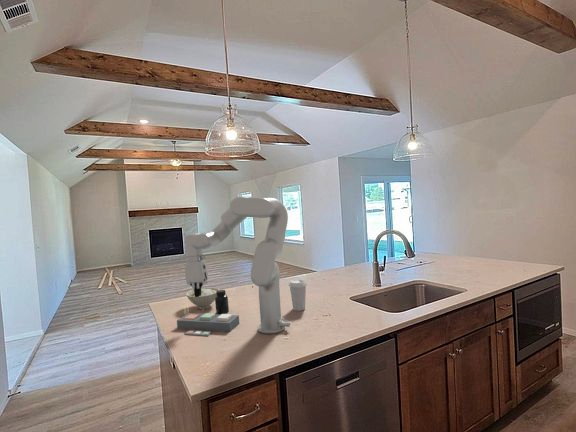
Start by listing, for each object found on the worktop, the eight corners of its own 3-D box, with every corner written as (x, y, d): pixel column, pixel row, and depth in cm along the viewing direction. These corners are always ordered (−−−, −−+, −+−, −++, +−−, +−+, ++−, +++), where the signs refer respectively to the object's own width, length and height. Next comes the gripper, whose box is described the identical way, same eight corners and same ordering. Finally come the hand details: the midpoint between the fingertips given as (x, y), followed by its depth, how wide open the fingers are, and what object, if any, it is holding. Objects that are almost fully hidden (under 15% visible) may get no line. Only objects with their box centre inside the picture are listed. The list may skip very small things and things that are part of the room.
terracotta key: (199, 320, 159) (199, 314, 159) (193, 324, 154) (193, 318, 154) (190, 320, 161) (190, 314, 160) (184, 324, 156) (184, 318, 155)
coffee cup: (306, 311, 166) (305, 283, 166) (288, 311, 168) (287, 283, 168) (309, 305, 176) (307, 278, 175) (292, 305, 178) (290, 279, 177)
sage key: (215, 319, 157) (215, 313, 156) (210, 323, 152) (209, 317, 151) (206, 319, 158) (205, 313, 158) (200, 323, 153) (200, 316, 153)
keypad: (239, 323, 156) (238, 315, 156) (230, 331, 146) (229, 323, 146) (189, 320, 164) (188, 313, 163) (177, 328, 154) (176, 320, 154)
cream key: (232, 320, 154) (231, 314, 154) (227, 324, 149) (226, 318, 149) (222, 319, 155) (222, 313, 155) (217, 324, 150) (216, 317, 150)
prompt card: (212, 332, 146) (212, 331, 146) (207, 336, 143) (207, 334, 143) (189, 331, 150) (189, 329, 150) (184, 334, 146) (184, 333, 146)
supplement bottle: (223, 309, 178) (222, 288, 177) (231, 312, 173) (230, 290, 173) (213, 313, 172) (211, 291, 172) (221, 316, 168) (220, 293, 167)
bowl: (179, 310, 181) (178, 293, 180) (203, 300, 198) (202, 284, 197) (205, 314, 172) (204, 296, 171) (228, 303, 189) (226, 286, 188)
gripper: (212, 257, 156) (215, 294, 157) (186, 257, 161) (189, 293, 161) (204, 260, 149) (207, 298, 150) (176, 260, 153) (180, 298, 154)
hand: (198, 296), depth 156 cm, fingers closed
